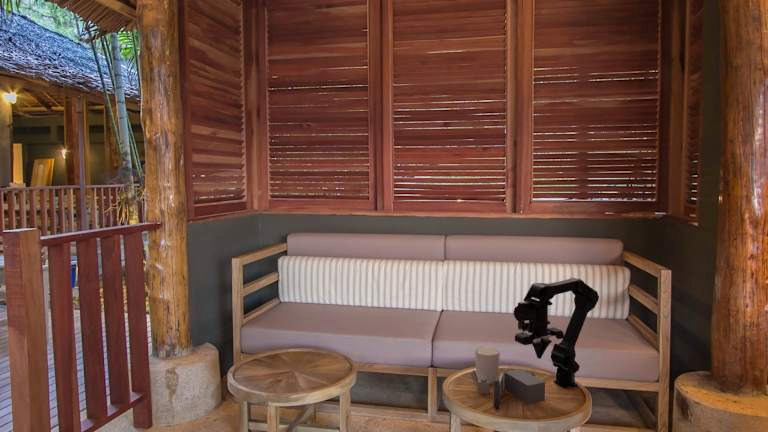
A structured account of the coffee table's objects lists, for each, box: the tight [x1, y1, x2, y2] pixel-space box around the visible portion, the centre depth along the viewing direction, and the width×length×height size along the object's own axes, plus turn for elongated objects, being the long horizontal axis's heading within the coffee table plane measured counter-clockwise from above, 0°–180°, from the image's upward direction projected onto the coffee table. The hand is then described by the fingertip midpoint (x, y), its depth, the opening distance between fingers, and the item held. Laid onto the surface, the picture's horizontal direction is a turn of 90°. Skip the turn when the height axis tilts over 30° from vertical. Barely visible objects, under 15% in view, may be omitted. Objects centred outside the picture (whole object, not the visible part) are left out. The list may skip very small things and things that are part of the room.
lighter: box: [469, 369, 490, 395], centre depth 196 cm, size 7×2×8 cm, turn 69°
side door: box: [493, 372, 504, 408], centre depth 190 cm, size 2×17×10 cm, turn 160°
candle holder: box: [474, 345, 501, 385], centre depth 207 cm, size 10×10×12 cm
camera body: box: [503, 368, 546, 405], centre depth 193 cm, size 9×14×7 cm, turn 24°
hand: (539, 358), depth 195 cm, fingers closed
